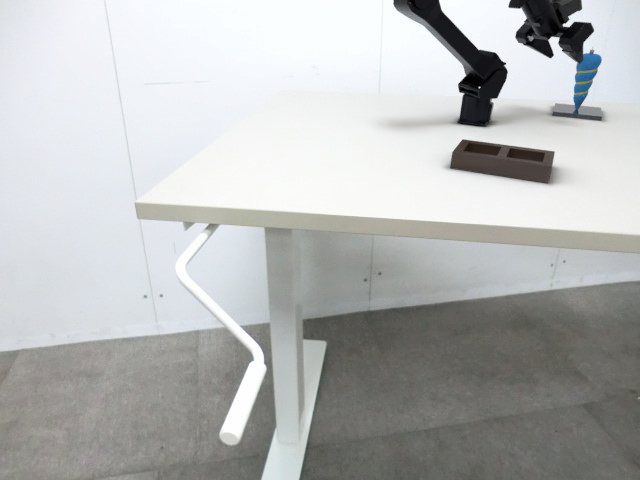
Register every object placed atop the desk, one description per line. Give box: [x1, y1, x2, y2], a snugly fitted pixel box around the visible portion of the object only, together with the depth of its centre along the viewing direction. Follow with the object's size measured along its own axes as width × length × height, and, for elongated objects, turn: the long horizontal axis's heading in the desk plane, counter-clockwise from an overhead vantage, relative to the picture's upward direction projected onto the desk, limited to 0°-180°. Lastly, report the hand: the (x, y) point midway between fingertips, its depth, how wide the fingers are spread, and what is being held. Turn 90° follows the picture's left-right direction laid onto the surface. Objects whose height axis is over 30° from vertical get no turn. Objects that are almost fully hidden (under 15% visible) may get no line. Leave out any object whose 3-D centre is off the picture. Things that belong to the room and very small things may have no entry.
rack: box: [449, 138, 556, 184], centre depth 85 cm, size 9×16×3 cm, turn 64°
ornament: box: [572, 46, 603, 109], centre depth 120 cm, size 5×5×15 cm
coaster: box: [552, 102, 603, 122], centre depth 123 cm, size 11×11×1 cm
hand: (566, 59), depth 115 cm, fingers open, 9 cm apart
